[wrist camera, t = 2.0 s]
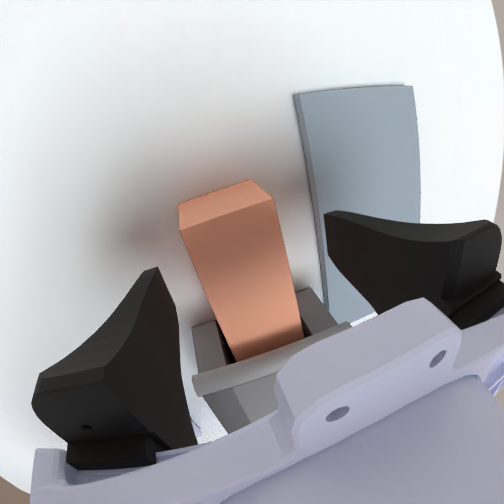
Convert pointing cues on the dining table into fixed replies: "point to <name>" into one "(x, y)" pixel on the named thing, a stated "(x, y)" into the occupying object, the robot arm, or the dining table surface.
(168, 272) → the dining table surface
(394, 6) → the dining table surface
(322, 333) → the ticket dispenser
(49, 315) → the dining table surface
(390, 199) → the slate mat
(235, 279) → the bar
